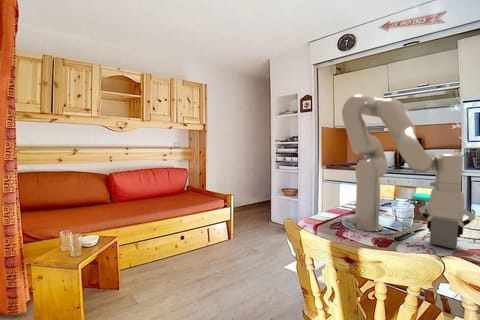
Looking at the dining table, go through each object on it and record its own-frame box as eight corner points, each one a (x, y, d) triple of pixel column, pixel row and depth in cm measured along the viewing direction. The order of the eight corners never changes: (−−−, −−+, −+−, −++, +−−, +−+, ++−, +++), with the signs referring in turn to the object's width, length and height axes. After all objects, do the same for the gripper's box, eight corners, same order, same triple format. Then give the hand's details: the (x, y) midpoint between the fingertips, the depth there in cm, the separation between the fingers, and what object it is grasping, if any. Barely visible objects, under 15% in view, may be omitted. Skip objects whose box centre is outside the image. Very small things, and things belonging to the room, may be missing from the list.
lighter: (427, 218, 134) (428, 199, 133) (427, 220, 131) (428, 200, 130) (408, 216, 138) (409, 197, 138) (408, 217, 136) (409, 198, 135)
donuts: (414, 195, 143) (410, 192, 152) (413, 213, 143) (410, 209, 153) (436, 197, 139) (431, 193, 148) (435, 215, 139) (430, 211, 148)
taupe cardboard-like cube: (456, 249, 94) (458, 224, 93) (429, 243, 99) (431, 220, 98) (457, 242, 99) (459, 219, 99) (431, 237, 105) (433, 215, 104)
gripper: (417, 185, 100) (414, 230, 102) (479, 191, 89) (475, 242, 90) (420, 183, 106) (417, 226, 107) (479, 188, 94) (475, 236, 96)
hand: (444, 233), depth 99 cm, fingers closed on taupe cardboard-like cube, 7 cm apart
